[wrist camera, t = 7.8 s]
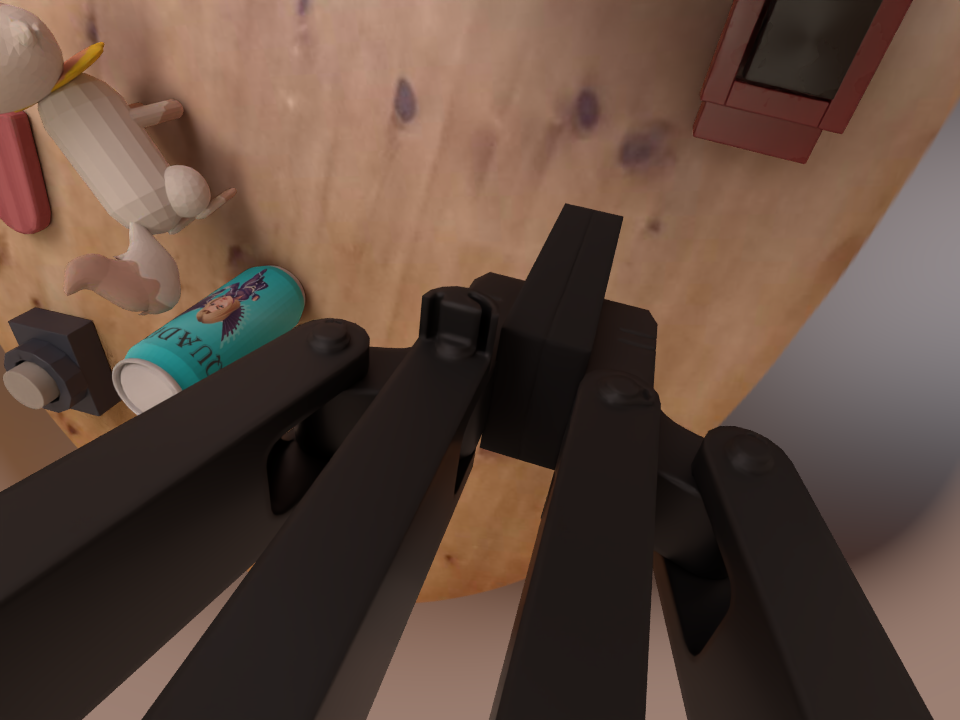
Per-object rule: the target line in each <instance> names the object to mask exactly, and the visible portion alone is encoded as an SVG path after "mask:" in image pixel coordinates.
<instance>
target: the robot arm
mask: <svg viewBox="0 0 960 720" xmlns="http://www.w3.org/2000/svg"><path fill="white" fill-rule="evenodd" d="M622 221H623V216H619V215H614V214H610V213H606V212H601V211H597V210H592V209H588V208H584V207H579V206H575V205H570V204H566V203H565V205H564V207H563V209H562V211H561V213H560V215H559V217H558V219H557V221H556V222H555V224H554V226H553V228H552V230H551V232H550V234H549V236H548V238H547V240H546V242H545V244H544V246H543V248H542V250H541V252H540V254H539V255H538V257H537V259H536V261H535V263H534V265H533V267H532V269H531V271H530V273H529V275H528V277H527V279H526V281H523V280H519V279H516V278H512V277H508V276H504V275H500V274H496V273H492V272H489V273H487V274H485V275H483V276H481V277H479V278H477V279H475V280H474V281H473V283H472V284H471V285H470V287H469V288H465V287H458V286H451V287H440V288H436V289H433V290H430V291H429V292H427V293H426V294H424V295H423V296H422V305H421V317H420V329H419V338H418V339H417V341H416V342H415V343H414V345H413V346H412V347H409V348H382V347H369V345H370V338H369V336H368V334H367V332H366V331H365V329H363V328H362V327H360V326H359V325H357V324H356V323H353V322H349V321H346V320H343V319H334V318H325V319H318V320H312V321H309V322H307V323H304V324H301V325H299V326H297V327H295V328H294V329H292V330H290V331H288V332H286V333H285V334H283V335H281V336H279V337H277V338H276V339H274V340H272V341H270V342H268V343H267V344H265V345H263V346H261V347H260V348H258V349H256V350H254V351H252V352H251V353H249V354H247V355H245V356H243V357H242V358H240V359H238V360H236V361H234V362H233V363H231V364H229V365H227V366H225V367H224V368H222V369H220V370H218V371H217V372H215V373H213V374H211V375H209V376H208V377H206V378H204V379H202V380H200V381H199V382H197V383H195V384H193V385H191V386H190V387H188V388H186V389H184V390H182V391H181V392H179V393H177V394H175V395H173V396H172V397H170V398H168V399H166V400H165V401H163V402H161V403H159V404H157V405H156V406H154V407H152V408H150V409H148V410H147V411H145V412H143V413H141V414H139V415H138V416H136V417H134V418H132V419H130V420H129V421H127V422H125V423H123V424H122V425H120V426H118V427H116V428H114V429H113V430H111V431H109V432H107V433H105V434H104V435H102V436H100V437H98V438H96V439H95V440H93V441H91V442H89V443H87V444H86V445H84V446H82V447H80V448H78V449H77V450H75V451H73V452H71V453H70V454H68V455H66V456H64V457H62V458H61V459H59V460H57V461H55V462H53V463H52V464H50V465H48V466H46V467H44V468H43V469H41V470H39V471H37V472H36V473H34V474H32V475H30V476H28V477H26V478H25V479H23V480H22V481H19V482H18V483H16V484H14V485H12V486H10V487H9V488H7V489H5V490H3V491H1V492H0V720H82V719H83V718H84V717H85V716H86V715H88V713H90V712H91V711H92V710H93V709H94V708H95V707H96V706H97V705H99V704H100V703H101V702H102V701H103V700H104V699H105V698H106V697H107V696H109V695H110V694H111V693H112V692H113V691H114V690H115V689H116V688H117V687H118V686H120V685H121V684H122V683H123V682H124V681H125V680H126V679H127V678H128V677H129V676H131V675H132V674H133V673H134V672H135V671H136V670H137V669H138V668H139V667H140V666H142V665H143V664H144V663H145V662H146V661H147V660H148V659H149V658H150V657H151V656H153V655H154V654H155V653H156V652H157V651H158V650H159V649H160V648H161V647H162V646H163V645H165V644H166V643H167V642H168V641H169V640H170V639H171V638H172V637H174V635H176V634H177V633H178V632H179V631H180V630H181V629H182V628H183V627H184V626H186V625H187V624H188V623H189V622H190V621H191V620H192V619H193V618H194V617H196V615H198V614H199V613H200V612H201V611H202V610H203V609H204V608H205V607H207V606H208V605H209V604H210V603H211V602H212V601H213V600H214V599H215V598H216V597H218V596H219V595H220V594H221V593H222V592H223V591H224V590H225V589H226V588H228V587H229V586H230V585H231V584H232V583H233V582H234V581H235V580H236V579H237V578H239V577H240V576H241V575H242V573H244V572H245V571H246V570H247V569H248V568H250V567H251V566H252V565H253V564H254V563H255V562H256V563H255V564H254V565H253V567H252V568H251V569H250V571H249V572H248V574H247V575H246V576H245V578H244V579H243V580H242V582H241V583H240V585H239V586H238V587H237V589H236V590H235V592H234V593H233V594H232V596H231V597H230V598H229V600H228V601H227V603H226V604H225V605H224V607H223V608H222V609H221V611H220V612H219V614H218V615H217V616H216V618H215V619H214V620H213V622H212V623H211V625H210V626H209V627H208V629H207V630H206V631H205V633H204V634H203V636H202V637H201V638H200V640H199V641H198V642H197V644H196V645H195V647H194V648H193V650H192V651H191V652H190V653H189V655H188V656H187V658H186V659H185V660H184V662H183V663H182V665H181V666H180V667H179V669H178V670H177V671H176V673H175V674H174V676H173V677H172V678H171V680H170V681H169V683H168V684H167V685H166V687H165V688H164V689H163V691H162V692H161V693H160V695H159V696H158V698H157V699H156V700H155V702H154V703H153V705H152V706H151V707H150V709H149V710H148V711H147V713H146V714H145V716H144V717H143V718H142V720H366V718H367V716H368V714H369V711H370V709H371V707H372V704H373V702H374V699H375V697H376V695H377V692H378V690H379V687H380V685H381V683H382V680H383V678H384V675H385V673H386V671H387V669H388V666H389V664H390V661H391V659H392V657H393V654H394V652H395V650H396V647H397V645H398V642H399V640H400V638H401V635H402V633H403V631H404V628H405V626H406V624H407V621H408V619H409V616H410V614H411V612H412V609H413V607H414V605H415V602H416V600H417V598H418V595H419V593H420V590H421V588H422V586H423V583H424V581H425V579H426V576H427V574H428V571H429V569H430V567H431V564H432V562H433V560H434V557H435V555H436V552H437V550H438V548H439V545H440V543H441V541H442V538H443V536H444V534H445V531H446V529H447V526H448V524H449V522H450V519H451V517H452V515H453V512H454V510H455V507H456V505H457V503H458V500H459V498H460V496H461V493H462V491H463V488H464V486H465V484H466V481H467V479H468V477H469V474H470V472H471V470H472V467H473V462H474V456H475V450H476V446H477V444H478V442H479V439H480V437H481V435H482V438H481V443H480V448H483V449H486V450H489V451H492V452H496V453H499V454H502V455H506V456H509V457H512V458H516V459H519V460H522V461H525V462H529V463H532V464H535V465H539V466H542V467H545V468H549V469H552V470H555V471H554V474H553V478H552V481H551V485H550V488H549V491H548V495H547V498H546V502H545V505H544V508H543V512H542V515H541V522H540V526H539V530H538V534H537V538H536V541H535V545H534V549H533V553H532V557H531V561H530V564H529V568H528V572H527V576H526V580H525V583H524V588H523V591H522V595H521V599H520V603H519V606H518V610H517V614H516V618H515V622H514V626H513V629H512V633H511V637H510V641H509V645H508V649H507V653H506V656H505V660H504V664H503V668H502V672H501V675H500V679H499V683H498V687H497V691H496V695H495V698H494V702H493V706H492V710H491V714H490V718H489V720H645V712H646V692H647V672H648V651H649V632H650V631H649V630H650V610H651V590H652V571H654V575H655V579H656V584H657V588H658V592H659V597H660V601H661V605H662V610H663V614H664V619H665V623H666V627H667V632H668V636H669V640H670V645H671V649H672V654H673V658H674V662H675V667H676V671H677V676H678V680H679V684H680V688H681V693H682V698H683V702H684V706H685V711H686V715H687V719H688V720H934V719H933V718H932V716H931V714H930V712H929V710H928V709H927V707H926V705H925V703H924V701H923V699H922V698H921V696H920V694H919V692H918V691H917V689H916V687H915V685H914V683H913V681H912V679H911V678H910V676H909V674H908V672H907V670H906V669H905V667H904V665H903V663H902V661H901V659H900V658H899V656H898V654H897V652H896V650H895V649H894V647H893V645H892V643H891V641H890V639H889V638H888V636H887V634H886V632H885V630H884V628H883V627H882V625H881V623H880V622H879V620H878V618H877V616H876V614H875V612H874V611H873V608H872V607H871V605H870V603H869V601H868V599H867V598H866V596H865V594H864V592H863V590H862V588H861V587H860V585H859V583H858V581H857V579H856V578H855V576H854V574H853V572H852V570H851V569H850V567H849V565H848V563H847V561H846V560H845V558H844V556H843V554H842V552H841V550H840V548H839V547H838V545H837V543H836V541H835V539H834V538H833V536H832V534H831V532H830V530H829V529H828V527H827V525H826V523H825V521H824V519H823V518H822V516H821V514H820V512H819V510H818V508H817V507H816V505H815V503H814V501H813V500H812V498H811V496H810V494H809V492H808V490H807V489H806V487H805V485H804V483H803V481H802V479H801V478H800V476H799V474H798V472H797V471H796V469H795V467H794V465H793V463H792V461H791V460H790V459H789V458H788V456H787V455H786V454H785V453H784V451H783V450H782V449H781V448H779V447H778V446H777V445H775V444H774V443H773V442H772V441H770V440H769V439H768V438H766V437H764V436H762V435H760V434H758V433H756V432H753V431H751V430H747V429H743V428H740V427H736V426H719V427H717V428H714V429H712V430H709V431H708V433H707V434H706V436H705V438H703V437H701V436H699V435H697V434H695V433H693V432H691V431H689V430H687V429H685V428H684V427H682V426H680V425H678V424H677V423H675V422H674V421H672V420H671V419H670V418H669V417H668V416H666V415H665V414H664V413H663V411H662V410H661V403H660V399H659V395H658V393H657V392H656V391H655V390H654V389H653V387H654V371H655V356H656V351H655V350H656V338H657V325H658V324H657V323H656V321H655V320H654V318H653V317H652V315H651V313H650V312H649V310H645V309H642V308H638V307H634V306H630V305H626V304H622V303H618V302H614V301H610V300H606V299H604V297H605V292H606V288H607V284H608V280H609V276H610V271H611V267H612V263H613V259H614V255H615V250H616V246H617V242H618V238H619V234H620V229H621V225H622ZM293 427H294V428H293ZM292 428H293V429H292ZM289 430H290V431H289ZM288 431H289V432H288Z"/></svg>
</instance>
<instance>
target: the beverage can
mask: <svg viewBox="0 0 960 720" xmlns="http://www.w3.org/2000/svg"><path fill="white" fill-rule="evenodd" d="M304 306H305V293H304V290H303V287H302V285H301V283H300V282H299V281H298V279H297V278H296V277H295V276H294V275H293V274H292V273H291V272H289V271H287V270H286V269H284V268H282V267H279V266H274V265H269V266H258V267H252V268H249V269H247V270H245V271H244V272H243V273H241V274H240V275H238V276H237V277H235V278H234V279H232V280H231V281H229V282H228V283H226V284H225V285H223V286H222V287H220V288H219V289H217V290H216V291H214V292H213V293H211V294H210V295H208V296H207V297H206V298H204V299H203V300H201V301H200V302H198V303H197V304H195V305H194V306H192V307H191V308H189V309H188V310H186V311H185V312H183V313H182V314H180V315H179V316H177V317H176V318H174V319H173V320H171V321H170V322H169V323H167V324H166V325H164V326H163V327H161V328H160V329H158V330H157V331H155V332H154V333H152V334H151V335H149V336H148V337H146V338H145V339H143V340H142V341H140V342H139V343H137V344H136V345H135V346H133V347H132V348H131V349H130V350H129V351H128V353H127V355H126V357H125V359H124V360H122V361H120V362H118V363H117V364H116V366H115V367H114V369H113V372H112V380H113V384H114V387H115V389H116V391H117V393H118V395H119V396H120V398H121V399H122V401H123V402H124V403H125V404H126V405H127V406H128V407H129V408H130V409H131V410H132V411H133V412H134V413H135V414H137V415H139V414H141V413H143V412H145V411H147V410H148V409H150V408H152V407H154V406H156V405H157V404H159V403H161V402H163V401H165V400H166V399H168V398H170V397H172V396H173V395H175V394H177V393H179V392H181V391H182V390H184V389H186V388H188V387H190V386H191V385H193V384H195V383H197V382H199V381H200V380H202V379H204V378H206V377H208V376H209V375H211V374H213V373H215V372H217V371H218V370H220V369H222V368H224V367H225V366H227V365H229V364H231V363H233V362H234V361H236V360H238V359H240V358H242V357H243V356H245V355H247V354H249V353H251V352H252V351H254V350H256V349H258V348H260V347H261V346H263V345H265V344H267V343H268V342H270V341H272V340H274V339H276V338H277V337H279V336H281V335H283V334H285V333H286V332H288V331H290V330H291V329H292V328H294V327H295V326H296V325H297V323H298V322H299V320H300V318H301V315H302V312H303V310H304Z"/></svg>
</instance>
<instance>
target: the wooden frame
mask: <svg viewBox="0 0 960 720" xmlns="http://www.w3.org/2000/svg"><path fill="white" fill-rule="evenodd" d="M912 1H913V0H883V1H882V3H881V5H880V7H879V9H878V11H877V13H876V15H875V17H874V19H873V21H872V23H871V25H870V27H869V29H868V31H867V33H866V35H865V37H864V39H863V41H862V43H861V45H860V47H859V49H858V51H857V53H856V55H855V57H854V59H853V61H852V63H851V65H850V68H849V70H848V72H847V74H846V76H845V78H844V80H843V82H842V84H841V86H840V88H839V90H838V92H837V94H836V96H835V98H834V99H833V100H831V99H826V98H822V97H818V96H813V95H809V94H805V93H801V92H796V91H792V90H788V89H783V88H779V87H775V86H771V85H766V84H762V83H758V82H753V81H749V80H746V79H745V78H744V77H743V75H742V72H743V69H744V67H745V64H746V62H747V59H748V57H749V54H750V52H751V49H752V47H753V44H754V42H755V39H756V37H757V34H758V32H759V29H760V27H761V24H762V22H763V19H764V17H765V14H766V12H767V9H768V7H769V4H770V2H771V0H734V1H733V4H732V7H731V9H730V12H729V15H728V18H727V20H726V23H725V26H724V28H723V31H722V34H721V37H720V39H719V42H718V45H717V47H716V50H715V53H714V56H713V58H712V61H711V64H710V66H709V69H708V72H707V75H706V77H705V80H704V83H703V85H702V88H701V91H700V100H701V101H702V103H701V106H700V108H699V111H698V114H697V116H696V119H695V122H694V124H693V136H694V137H697V138H701V139H705V140H709V141H713V142H717V143H721V144H725V145H729V146H733V147H737V148H741V149H745V150H749V151H753V152H757V153H761V154H765V155H769V156H773V157H777V158H781V159H785V160H789V161H793V162H797V163H801V164H805V163H806V162H807V160H808V158H809V156H810V154H811V152H812V150H813V148H814V146H815V144H816V142H817V140H818V138H819V136H820V134H821V132H822V130H826V131H830V132H835V133H839V134H842V133H843V132H844V130H845V129H846V127H847V125H848V123H849V121H850V119H851V117H852V115H853V113H854V111H855V109H856V108H857V106H858V104H859V102H860V100H861V98H862V96H863V94H864V92H865V90H866V89H867V87H868V85H869V83H870V81H871V79H872V77H873V75H874V73H875V71H876V69H877V68H878V66H879V64H880V62H881V60H882V58H883V56H884V54H885V52H886V50H887V49H888V47H889V45H890V43H891V41H892V39H893V37H894V35H895V33H896V31H897V30H898V28H899V26H900V24H901V22H902V20H903V18H904V16H905V14H906V12H907V10H908V9H909V7H910V5H911V3H912Z"/></svg>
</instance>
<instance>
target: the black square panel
mask: <svg viewBox="0 0 960 720" xmlns="http://www.w3.org/2000/svg"><path fill="white" fill-rule="evenodd" d="M882 1H883V0H771V2H770V4H769V7H768V9H767V12H766V14H765V17H764V19H763V22H762V24H761V27H760V29H759V32H758V34H757V37H756V39H755V42H754V44H753V47H752V49H751V52H750V54H749V57H748V59H747V62H746V64H745V67H744V69H743V72H742V75H743V77H744V78H745V79H746V80H749V81H753V82H758V83H762V84H766V85H771V86H775V87H779V88H783V89H788V90H792V91H796V92H801V93H805V94H809V95H813V96H818V97H822V98H826V99H831V100H833V99H834V98H835V96H836V94H837V92H838V90H839V88H840V86H841V84H842V82H843V80H844V78H845V76H846V74H847V72H848V70H849V68H850V65H851V63H852V61H853V59H854V57H855V55H856V53H857V51H858V49H859V47H860V45H861V43H862V41H863V39H864V37H865V35H866V33H867V31H868V29H869V27H870V25H871V23H872V21H873V19H874V17H875V15H876V13H877V11H878V9H879V7H880V5H881V3H882Z"/></svg>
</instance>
